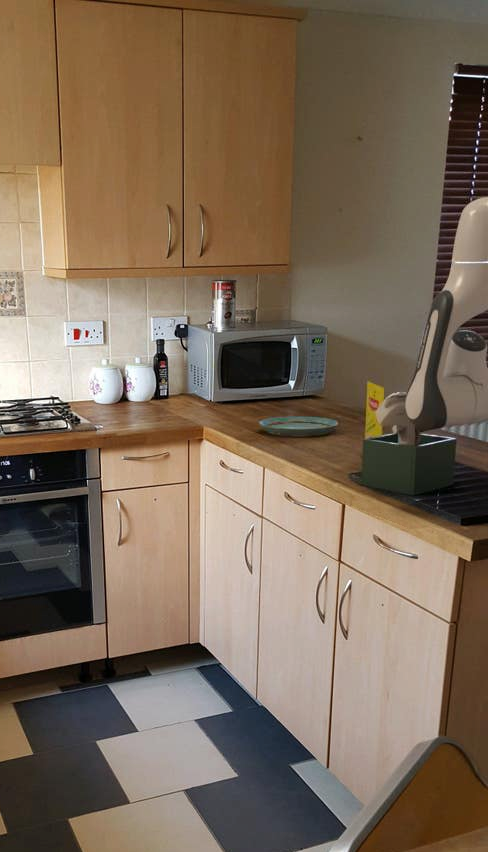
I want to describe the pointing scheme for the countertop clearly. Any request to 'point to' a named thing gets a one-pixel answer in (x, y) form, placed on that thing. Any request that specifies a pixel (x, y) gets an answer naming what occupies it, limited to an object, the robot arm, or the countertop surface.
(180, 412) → the countertop surface
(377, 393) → the food package
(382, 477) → the waste bin
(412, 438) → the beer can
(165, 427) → the countertop surface
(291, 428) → the saucer
